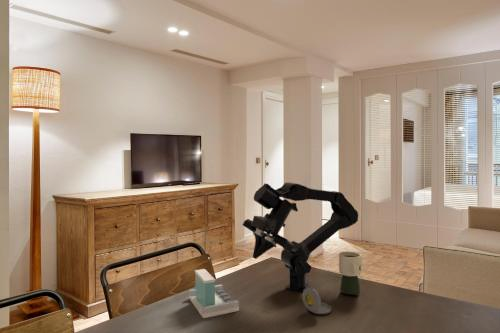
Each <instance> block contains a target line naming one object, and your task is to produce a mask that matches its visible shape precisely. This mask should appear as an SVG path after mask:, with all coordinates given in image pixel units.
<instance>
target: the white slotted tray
mask: <svg viewBox="0 0 500 333" xmlns="http://www.w3.org/2000/svg"><path fill="white" fill-rule="evenodd" d="M188 294H189V295H188V296H189V300H190V301H191V303H192V304H193V306H194V307H195V309H196V310H197V311H198V313H199V315H200V316H201V317H202V319H206V318H212V317H216V316H217V317H218V316H220V315H225V314H230V313H234V312H238V311H240V301H239V300H235V299H233V298H232V297H231V296H230V295H229V293H227V292H226V291H225V290H224V289H223V284H215V305H211V306H206V307H203V305H202V304H201V303H200V301H199V300H198V299H197V297H196V288H194V289H189V291H188Z"/></svg>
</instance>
